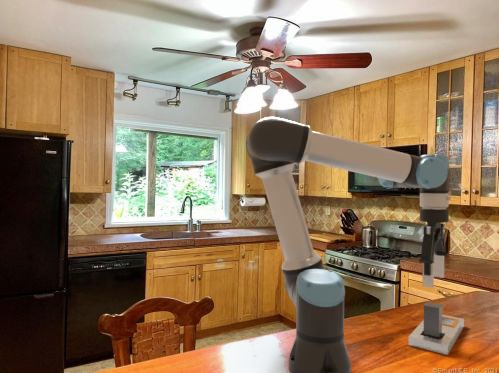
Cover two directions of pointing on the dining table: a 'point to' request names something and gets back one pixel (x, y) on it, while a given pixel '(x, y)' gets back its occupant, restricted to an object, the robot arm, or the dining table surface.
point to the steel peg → (433, 320)
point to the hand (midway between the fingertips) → (433, 281)
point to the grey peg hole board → (449, 336)
